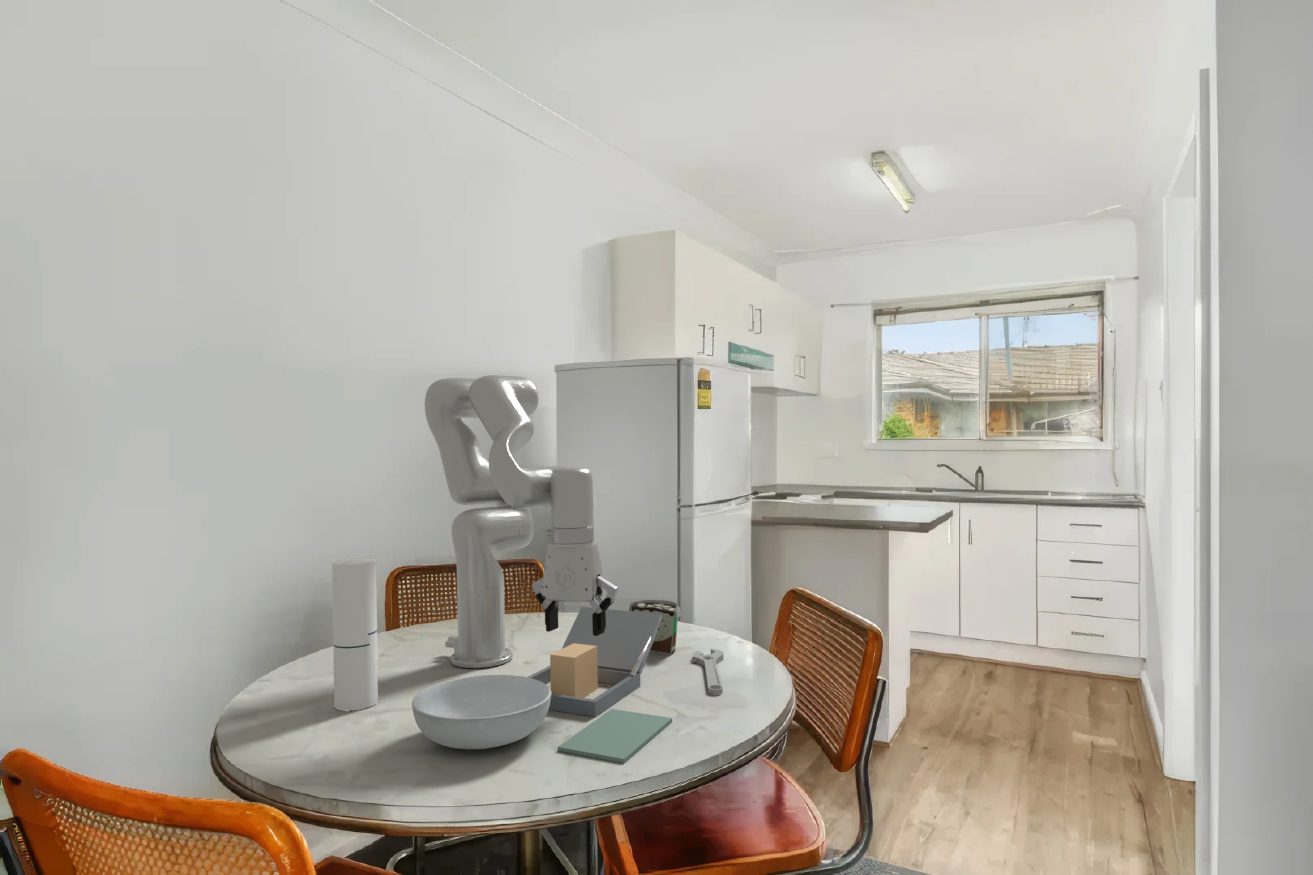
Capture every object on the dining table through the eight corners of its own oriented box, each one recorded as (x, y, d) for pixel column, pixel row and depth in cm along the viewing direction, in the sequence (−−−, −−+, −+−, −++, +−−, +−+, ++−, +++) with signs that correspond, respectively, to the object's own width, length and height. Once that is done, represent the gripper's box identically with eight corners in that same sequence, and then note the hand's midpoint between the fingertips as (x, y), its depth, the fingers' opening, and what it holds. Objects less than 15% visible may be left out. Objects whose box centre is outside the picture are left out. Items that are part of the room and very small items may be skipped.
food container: (692, 648, 166) (691, 602, 166) (677, 655, 161) (676, 608, 161) (644, 641, 172) (644, 597, 172) (629, 647, 167) (628, 602, 167)
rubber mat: (557, 750, 112) (557, 746, 112) (611, 712, 128) (611, 708, 128) (624, 763, 108) (624, 758, 108) (672, 721, 123) (672, 717, 123)
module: (550, 699, 135) (550, 654, 135) (574, 686, 142) (573, 643, 142) (575, 703, 133) (574, 657, 133) (597, 689, 140) (597, 645, 140)
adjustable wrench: (723, 698, 136) (723, 688, 136) (687, 697, 136) (687, 688, 136) (723, 656, 161) (723, 648, 161) (693, 656, 161) (692, 648, 161)
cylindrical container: (386, 699, 136) (384, 558, 136) (358, 713, 129) (356, 565, 129) (353, 695, 138) (352, 557, 138) (324, 708, 132) (322, 563, 132)
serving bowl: (562, 756, 111) (561, 708, 111) (410, 776, 105) (410, 725, 105) (541, 707, 131) (541, 667, 131) (413, 722, 125) (413, 680, 125)
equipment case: (505, 702, 133) (504, 638, 133) (583, 660, 158) (583, 606, 158) (595, 717, 126) (594, 648, 126) (663, 670, 151) (662, 613, 151)
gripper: (520, 537, 137) (522, 633, 137) (605, 540, 130) (607, 641, 130) (543, 533, 144) (545, 623, 144) (625, 535, 137) (627, 630, 137)
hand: (575, 631), depth 137 cm, fingers open, 9 cm apart
